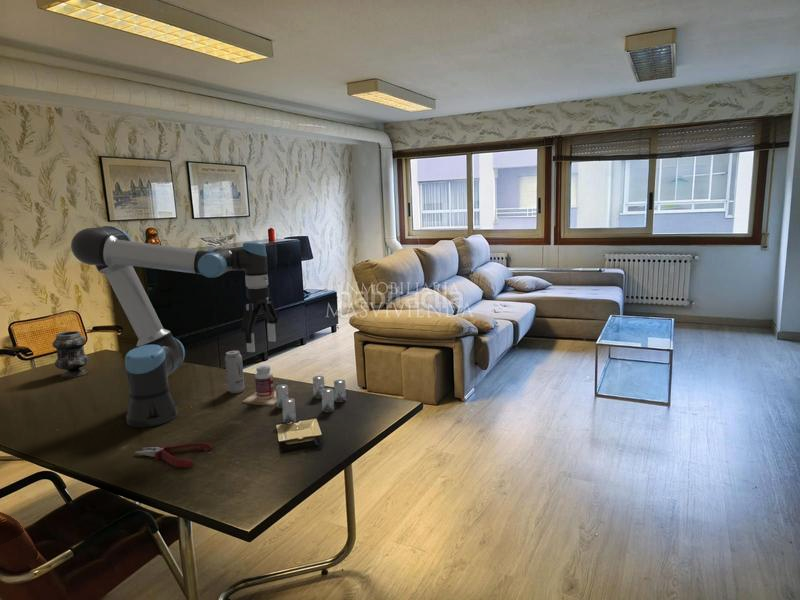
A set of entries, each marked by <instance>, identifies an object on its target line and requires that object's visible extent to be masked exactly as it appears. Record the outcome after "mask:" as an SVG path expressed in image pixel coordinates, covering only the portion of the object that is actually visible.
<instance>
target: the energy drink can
mask: <svg viewBox="0 0 800 600" xmlns="http://www.w3.org/2000/svg"><path fill="white" fill-rule="evenodd" d="M240 352H241V351H240V350H230V351H227V352H225V356H224V365H225V375H226V377H225V378H226V385H227V391H228V392H229V393H230V394H239V393H241V392H243V391H244V389H245V379H244V376H245V375H244V367H243V366H244V365H243V357H242V354H241V353H240Z"/></svg>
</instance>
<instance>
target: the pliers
mask: <svg viewBox="0 0 800 600" xmlns="http://www.w3.org/2000/svg"><path fill="white" fill-rule="evenodd" d="M212 449H213V446H212V444H211V443H210V442H201V441H200V442H199V441H198V442H189V443H184V444H182V443H181V444H177V445H171V446H170V444H166V446H164V447H159V446H152V447H141V450H140V451H138V450H137V451H135V452H134V453H135V454H137V455H142V456H148V457H154V458H155V460H156V461H158V460H163V461H165V462H166V463H167V464H169V465H171V466H172V467H175V468H183V469H189V468H192V467H194V463H193V460H192V459H190V458H178V457H176V456H174V455H172V454H177V453H185V452H190V451H210V452H211V451H212Z"/></svg>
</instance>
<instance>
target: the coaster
mask: <svg viewBox="0 0 800 600" xmlns="http://www.w3.org/2000/svg"><path fill="white" fill-rule="evenodd" d="M289 394H290V391H288V395H289ZM241 404H246V405H247V404H248V405H259V406H268V407H274V405H277V398H276V390H274V396H273V397H271V398H269V399H259V398H257V395H256V392H254V393H252V394H251V395H250V396H248V397H246V398H245V399H243V400H242V401H241Z"/></svg>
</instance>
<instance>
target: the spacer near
mask: <svg viewBox="0 0 800 600" xmlns="http://www.w3.org/2000/svg"><path fill="white" fill-rule="evenodd" d="M281 409H282V421H283V424H285V423H290V422H295V423H296V422H297V415H296V414H297V413H296V400H295V398H289V397H288V398H287V399H284V400H282V408H281Z"/></svg>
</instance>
